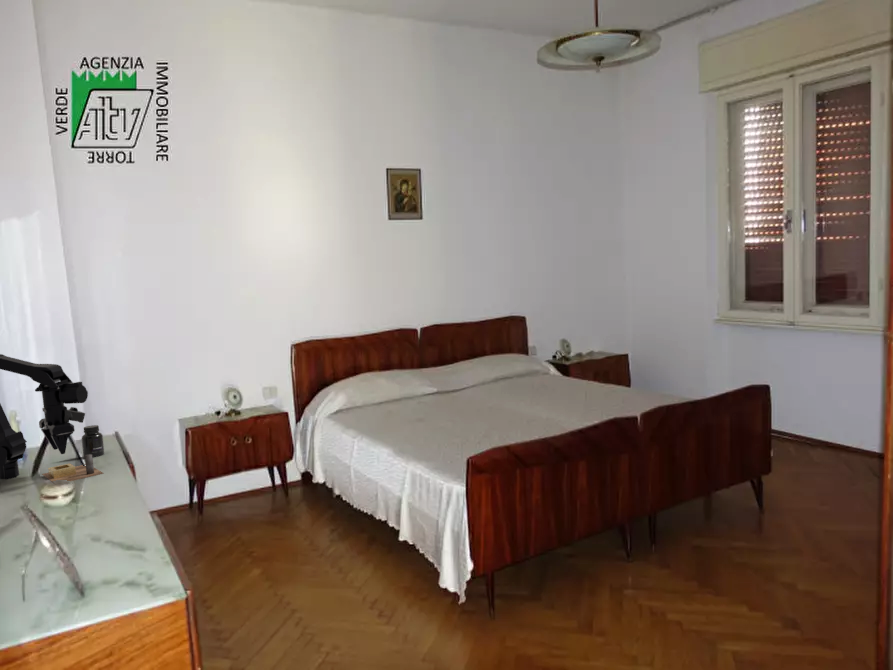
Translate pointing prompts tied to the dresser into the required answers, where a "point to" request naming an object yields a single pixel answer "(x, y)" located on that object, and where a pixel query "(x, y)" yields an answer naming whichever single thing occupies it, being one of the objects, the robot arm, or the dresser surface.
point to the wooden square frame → (62, 470)
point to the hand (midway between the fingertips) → (59, 451)
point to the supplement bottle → (92, 441)
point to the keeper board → (79, 471)
